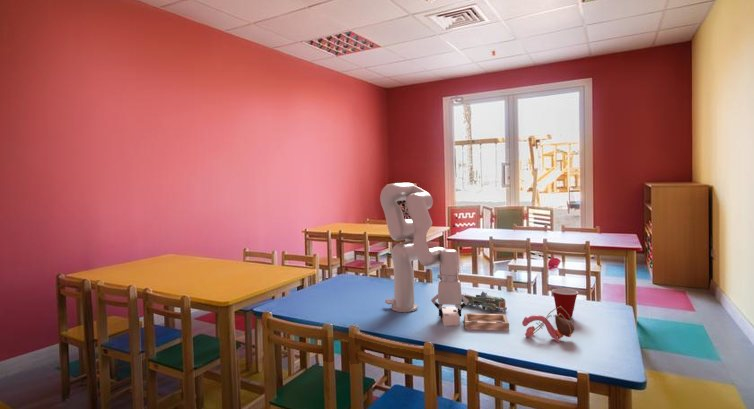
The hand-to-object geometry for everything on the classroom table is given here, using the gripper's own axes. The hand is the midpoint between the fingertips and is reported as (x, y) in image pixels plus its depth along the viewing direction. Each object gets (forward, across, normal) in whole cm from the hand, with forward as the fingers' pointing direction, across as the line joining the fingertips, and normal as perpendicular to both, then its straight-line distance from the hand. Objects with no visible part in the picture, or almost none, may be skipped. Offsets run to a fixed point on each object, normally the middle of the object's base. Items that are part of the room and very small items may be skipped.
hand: (450, 317), depth 187 cm
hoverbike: (+2, +14, +18) cm, 23 cm away
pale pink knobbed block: (+1, 0, 0) cm, 1 cm away
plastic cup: (+2, +50, +8) cm, 50 cm away
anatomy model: (+2, +37, -17) cm, 41 cm away
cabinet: (+1, +15, -5) cm, 16 cm away
